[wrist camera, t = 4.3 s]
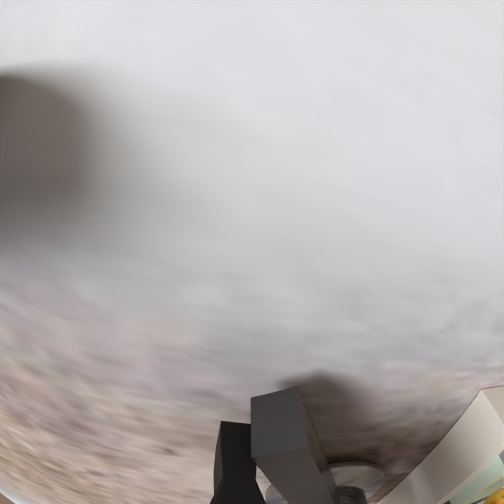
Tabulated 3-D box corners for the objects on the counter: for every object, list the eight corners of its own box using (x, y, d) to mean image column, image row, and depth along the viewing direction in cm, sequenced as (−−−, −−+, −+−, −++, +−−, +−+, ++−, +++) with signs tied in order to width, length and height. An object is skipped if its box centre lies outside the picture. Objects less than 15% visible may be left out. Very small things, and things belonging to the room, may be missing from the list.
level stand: (416, 508, 20) (427, 544, 15) (353, 521, 19) (361, 562, 15) (539, 378, 13) (572, 423, 8) (481, 389, 12) (519, 451, 8)
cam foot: (477, 448, 14) (511, 521, 8) (282, 514, 16) (288, 598, 10) (525, 275, 9) (636, 380, 3) (181, 395, 11) (149, 575, 4)
